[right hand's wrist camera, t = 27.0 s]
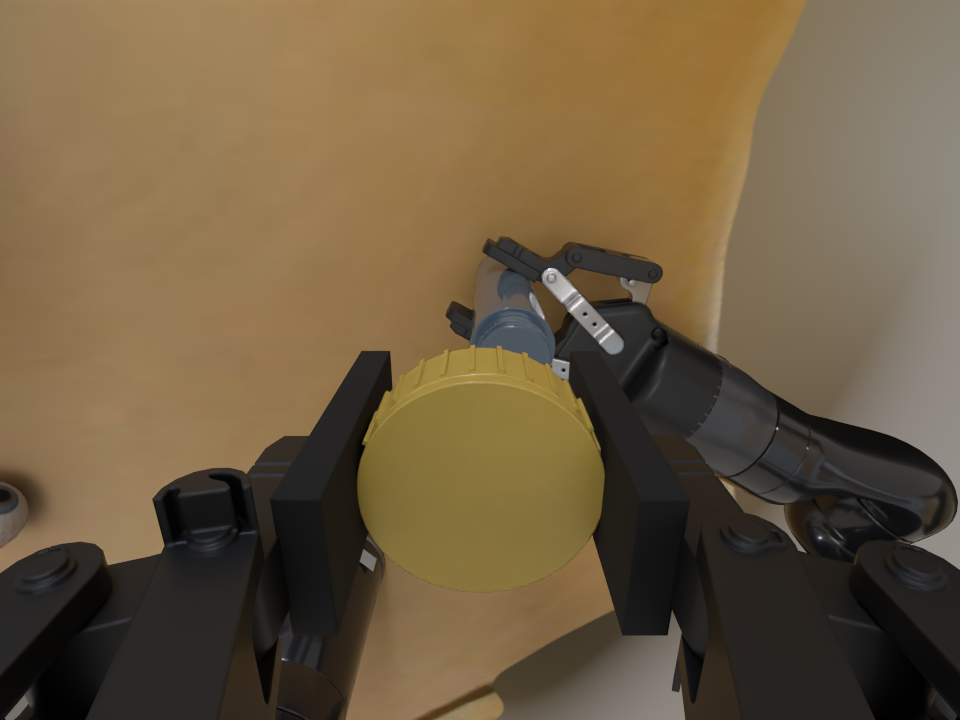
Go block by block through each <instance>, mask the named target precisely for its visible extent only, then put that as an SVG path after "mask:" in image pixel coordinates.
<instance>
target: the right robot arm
mask: <svg viewBox="0 0 960 720" xmlns="http://www.w3.org/2000/svg"><path fill="white" fill-rule="evenodd" d="M568 382H569V384H570V386H571V389H572V391H573V394H574V395H575V397H576V399H579V398H581V400H582V402H583V404H584V406H585V409H586V411H587V413H588V416H589V418H590V420H591V423H592V425H593V428H594V430H593V431H594V434H595V436H596V438H597V441H598V443H599V446H600V448H601V454H600V455H601V458H602V461H603V465H604V470H605V479H604V490H603V500H602V510H601V518H600V520H599V522H598V525H597V527H596V529H595V531H594V533H593V534H592V535H593V538H594V541H595V545H596V548H597V551H598V555H599V558H600V562H601V565H602V568H603V572H604V575H605V578H606V582H607V585H608V588H609V592H610V595H611V598H612V602H613V605H614V608H615V612H616V615H617V618H618V622H619V625H620V628H621V632H622V635H668V629H669V623H670V618H671V612H672V610H673V613H674V615H675V617H676V620H677V622H678V624H679V627H680V629H681V631H682V635H681V640H680V646H679V651H678V657H677V662H676V668H675V673H674V679H673V686H672V691H676V692H679V690H680V684H681V686H682V695H683V703H684V711H685V720H949V719H948V718H947V717H945V716H944V715H943V714H942V713H941V711H940V710H939V709H938V708H937V707H936V705H935V704H934V703H933V700H934V698H935V695H936V693H937V692H938V694H939V695H940V696H941V697H942V698H943V699H944V701H945V702H946V703H947V704H948V705H949V706H950V708H951V709H952V710H953V711H954V712H955V713H956V715H957V717H956V719H955V720H960V570H959V569H958V568H956V567H955V566H953V565H952V564H950V563H949V562H948V561H946V560H945V559H943V558H941V557H939V556H937V555H935V554H933V553H930V552H928V551H927V550H925V549H923V548H920V547H917V546H914V545H913V546H912V545H910V544H907V543H903V542H898V541H889V540H874V541H868V542H865V543H864V544H863V545H862V546H860V547H859V548H858V551H857V554H856V557H855V560H854V563H850V562H845V561H840V560H836V559H831V558H826V557H821V556H817V555H812V554H808V553H805V552H801V551H798V549H797V547H796V545H795V544H794V542H793V541H792V540H791V538H790V537H789V536H788V534H787V533H785V532H784V531H783V530H781V529H780V528H779V527H777V526H776V525H775V524H773V523H771V522H769V521H767V520H764V519H762V518H760V517H758V516H755V515H751V514H747V513H744V512H743V510H742V509H741V508H740V506H739V505H738V504H737V502H736V501H735V500H734V498H733V497H732V496H731V494H730V493H729V492H728V490H727V489H726V488H725V486H724V485H723V484H722V482H721V481H720V480H719V478H718V477H717V476H715V475H714V472H713V470H712V469H711V468H710V466H709V465H708V464H706V461H705V460H704V458H703V457H702V456H701V454H700V453H699V452H698V450H697V449H696V447H695V446H693V445H692V444H690V443H688V442H687V441H685V440H684V439H682V438H681V437H679V436H678V435H676V434H650V433H649V432H648V430H647V428H646V427H645V425H644V424H643V422H642V420H641V419H640V417H639V415H638V414H637V412H636V411H635V409H634V407H633V406H632V404H631V403H630V401H629V399H628V398H627V396H626V394H625V393H624V391H623V390H622V388H621V386H620V385H619V383H618V382H617V380H616V378H615V377H614V375H613V373H612V372H611V370H610V369H609V367H608V365H607V364H606V362H605V361H604V359H603V357H602V356H601V354H600V352H599V351H570V363H569V379H568ZM391 390H392V374H391V358H390V351H361V353H360V355H359V356H358V358H357V359H356V361H355V363H354V364H353V366H352V367H351V369H350V371H349V372H348V374H347V376H346V377H345V379H344V380H343V382H342V384H341V385H340V387H339V389H338V390H337V392H336V393H335V395H334V397H333V398H332V400H331V401H330V403H329V405H328V406H327V408H326V410H325V411H324V413H323V414H322V416H321V418H320V419H319V421H318V422H317V424H316V426H315V427H314V429H313V431H312V432H311V434H310V435H309V436H284V437H282V438H281V439H279V440H278V441H276V442H275V443H273V444H272V445H270V446H269V447H267V448H266V449H265V450H264V451H263V453H262V454H261V455H260V457H259V458H258V460H257V461H256V462H255V466H252V468H251V469H250V470H249V472H248V473H247V474H245V473H244V472H243V471H240V470H236V469H232V468H212V469H207V470H202V471H198V472H193V473H191V474H188V475H186V476H183V477H181V478H178V479H176V480H174V481H173V482H171V483H170V484H168V485H166V486H165V487H163V488H162V489H161V490H160V491H159V492H158V493H157V494H156V495H155V497H154V498H153V503H154V507H155V511H156V514H157V518H158V522H159V526H160V530H161V533H162V537H163V541H164V545H165V546H164V548H163V550H162V553H161V554H157V555H153V556H150V557H145V558H140V559H136V560H131V561H126V562H122V563H117V564H112V565H107V562H106V559H105V556H104V552H103V550H102V549H100V548H99V547H98V546H97V545H96V544H92V543H85V542H75V543H66V544H60V545H56V546H51V547H50V548H45V549H42V550H39V551H37V552H35V553H34V554H32V555H30V556H27V557H25V558H23V559H21V560H19V561H17V562H16V563H14V564H13V565H12V566H10V567H9V568H7V569H6V570H4V571H3V572H2V573H0V720H5V717H6V716H7V715H8V713H9V712H10V711H11V710H12V709H13V708H14V706H15V705H16V704H17V703H18V702H19V700H20V699H21V698H22V697H23V696H24V695H25V696H26V699H27V701H28V703H29V704H28V705H27V707H26V708H25V709H24V710H23V711H22V713H21V714H20V715H19V716H18V717H17V718H16V719H15V720H275V713H276V704H277V696H278V687H279V679H280V670H281V662H282V653H281V646H280V640H279V632H280V630H281V628H282V625H283V623H284V621H285V618H286V616H287V614H288V611H289V616H290V622H291V628H292V633H293V635H338V633H339V629H340V626H341V623H342V619H343V616H344V613H345V609H346V606H347V603H348V599H349V596H350V593H351V589H352V586H353V583H354V579H355V576H356V573H357V569H358V566H359V563H360V559H361V556H362V553H363V549H364V546H365V543H366V539H367V536H368V530H367V528H366V526H365V523H364V521H363V518H362V516H361V513H360V509H359V504H358V495H357V472H358V468H359V464H360V459H361V457H362V454H363V452H364V449H365V447H366V446H364V445H362V443H363V440H364V438H365V435H366V433H367V430H368V428H369V426H370V423H371V421H372V418H373V416H374V414H375V411H378V408H379V406H380V403H381V401H382V398H383V396H384V394H385V392H386V391H388V392H390V391H391Z"/></svg>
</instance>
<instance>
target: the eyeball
mask: <svg viewBox="0 0 960 720" xmlns="http://www.w3.org/2000/svg"><path fill="white" fill-rule="evenodd" d="M28 511H29V509H28V505H27V501H26V499H25V497H24V496H23V494H22V493H21V492H20V491H19V490H18V489H16V488H15V487H14V486H11V485H9V484H7V483H5V482H0V548H2V547H3V546H5V545H6V544H8V543H9V542H10V541H12V540H13V539H14V538H16V537H17V535H18V534H19V533H20V531H21V530H22V528H23V527H24V526H25V524H26V521H27V517H28Z"/></svg>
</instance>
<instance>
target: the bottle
mask: <svg viewBox="0 0 960 720" xmlns="http://www.w3.org/2000/svg"><path fill="white" fill-rule="evenodd" d="M470 345H475V348H494V349H496V348H497V346H502V350H507V351H511V352H515V353H518V354H521V355H522V353H523V352H525V353H527V354H528V357H529V358H531V359H533V360H535V361H537V362H539V363H541V364H542V365H545V364H546V363H547V364H549V365H550V366H551V364H552V361H553V359H554V355H555V339H554V335H553V332H552V330H551V327H550V325H549V322H548V320H547V317H546V315H545V312H544V310H543V307H542V305H541V302H540V300H539V297H538V295H537V292H536V290H535V287H534V284H533V282H532V281H531V280H529V279H527V278H526V277H524V276H522V275H520V274H519V273H517V272H515V271H513V270H512V269H510V268H508V267H507V266H505V265H503V264H501V263H500V262H498V261H496V260H495V259H493V258H491V257H489V256H488V257H487V258H485V259H484V260H483V261H482V262H481V264H480V265H479V267H478V269H477V272H476V279H475V291H474V302H473V314H472V325H471V337H470Z"/></svg>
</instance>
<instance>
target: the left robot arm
mask: <svg viewBox="0 0 960 720" xmlns="http://www.w3.org/2000/svg"><path fill="white" fill-rule="evenodd" d="M482 251H483V252H484V253H485V254H486V255H488V256H489V257H491V258H493V259H495V260H496V261H498V262H500V263H501V264H503V265H505V266H507V267H508V268H510V269H512V270H513V271H515V272H517V273H519V274H520V275H522V276H524V277H526V278H527V279H529V280H531V281H532V282H534V283H535V282H536V280H538V281H540V282H542V283H543V284H544V285H545V286H546V287H547V288H548V289H549V290H550V291H551V292H552V294H553V295H554V296H555V297H556V298H557V299H558V300H559V301H560V302H561V303H562V304H563V305H564V307H565V308H566V309H567V310H568V313H567V314H566V316H565V318H564V321H563V324H562V327H561V329H560V330H558V331H557V332H556V333H555V334H554V339H555V355H554V359H553V361H552V364H551V366H550V367H551V370H552V372H554V373H555V374H556V375H558V376H559V377H560V378H561V379H562V380H565V379H567V381H568V379H569V363H570V351H599V352H600V354H601V356H602V357H603V359H604V361H605V362H606V364H607V365H608V367H609V369H610V370H611V372H612V373H613V375H614V377H615V378H616V380H617V382H618V383H619V385H620V386H621V388H622V390H623V391H624V393H625V394H626V396H627V398H628V399H629V401H630V403H631V404H632V406H633V407H634V409H635V411H636V412H637V414H638V415H639V417H640V419H641V420H642V422H643V424H644V425H645V427H646V428H647V430H648V432H649V433H650V434H676V435H678V436H679V437H681V438H682V439H684V440H685V441H687V442H688V443H690V444H692V445H693V446H695V447H696V449H697V450H698V452H699V453H700V454H701V456H702V457H703V458H704V460H705V461H706V464H708V465H709V466H710V468H711V469H712V470H713V472H714V475H715V476H717V477H718V478H719V479H721V480H723V481H724V482H726V483H728V484H730V485H732V486H734V487H735V488H737V489H739V490H741V491H743V492H745V493H747V494H749V495H751V496H753V497H755V498H757V499H759V500H761V501H763V502H766V503H770V504H777V505H784V513H785V518H786V522H787V524H788V526H789V529H790V530H791V532H792V534H793V535H794V537H795V538H796V539H797V541H798V542H799V544H800V545H801V546H802V547H803V548H804V550H805V551H806V552H807V553H808V554H812V555H817V556H821V557H826V558H831V559H836V560H840V561H845V562H850V563H854V560H855V557H856V554H857V551H858V548H859V547H860V546H862V545H863V544H864V543H865V542H868V541H874V540H889V541H898V542H903V543H907V544H912V543H915V542H917V541H920V540H922V539H925V538H927V537H930V536H932V535H934V534H936V533H938V532H940V531H941V530H943V529H945V528H946V527H947V526H948V525H949V524H950V523H951V522H952V521H953V519H954V517H955V515H956V512H957V505H958V499H957V495H956V490H955V488H954V485H953V483H952V481H951V480H950V478H949V477H948V475H947V474H946V473H945V471H944V470H943V469H942V468H941V467H940V466H939V465H938V464H937V463H936V462H935V461H934V460H933V459H931V458H930V457H929V456H927V455H926V454H925V453H923V452H922V451H920V450H919V449H917V448H915V447H913V446H912V445H910V444H908V443H906V442H904V441H902V440H899V439H897V438H895V437H892V436H889V435H886V434H883V433H880V432H876V431H873V430H869V429H865V428H861V427H857V426H853V425H849V424H845V423H841V422H837V421H834V420H830V419H826V418H822V417H817V416H813V415H809V414H807V413H805V412H803V411H802V410H800V409H799V408H797V407H795V406H794V405H792V404H790V403H789V402H787V401H785V400H784V399H782V398H780V397H779V396H777V395H775V394H773V393H772V392H770V391H768V390H767V389H765V388H764V387H762V386H761V385H760V384H758V383H757V382H756V381H755V380H754V379H752V378H751V377H750V376H749V375H747V374H746V373H745V372H743V371H742V370H740V369H739V368H737V367H735V366H733V365H732V364H730V363H729V362H728V361H727V360H726V359H725V358H723V357H721V356H719V355H717V354H713V353H712V352H710V351H708V350H707V349H705V348H703V347H702V346H700V345H698V344H697V343H695V342H693V341H692V340H690V339H688V338H686V337H685V336H683V335H681V334H680V333H678V332H676V331H675V330H673V329H671V328H670V327H668V326H666V325H665V324H663V323H661V322H660V321H658V320H656V319H655V318H654V316H653V315H652V313H651V310H650V309H649V308H648V306H646V302H647V299H648V296H649V293H650V290H651V287H652V284H653V283H656V282H658V281H659V280H660V279H661V277H662V275H663V271H662V268H661V267H660V266H659V265H658V264H656V263H654V262H652V261H651V260H649V259H647V258H645V257H640V256H636V255H631V254H626V253H621V252H617V251H612V250H607V249H603V248H598V247H593V246H588V245H584V244H579V243H574V242H568V243H566V244H565V245H564V246H563V247H562V249H561V250H560V251H559V252H557V253H556V254H555V255H554V256H552V257H549V258H543V257H541V256H539V255H537V254H536V253H534V252H532V251H531V250H529V249H527V248H526V247H524V246H522V245H520V244H519V243H517V242H515V241H514V240H512V239H510V238H508V237H502V236H500V238H499V239H498V241H497V243H496V242H495V241H493V240H491V239H488V240H487V241H486V243H485V245H484V247H483V250H482ZM576 268H579V269H583V270H588V271H593V272H598V273H603V274H607V275H612V276H617V282H618V284H619V285H620V286H621V287H622V288H623V289H625V290H628V292H629V298H623V299H613V300H603V301H593V302H589V300H588V299H587V298H586V297H585V296H584V295H583V294H582V293H581V292H580V291H579V290H578V289H577V288H576V287H575V286H574V284H573V283H571V282H570V281H569V279H568V278H567V277H566V276H567V275H568V274H569V273H571V272H572V271H573V270H574V269H576ZM472 314H473V311H472V310H470V309H468V308H466V307H464V306H463V305H461V304H459V303H457V302H455V301H452V302H451V304H450V306H449V307H448V309H447V312H446V317H447V318H448V319H449V320H451V324H450V327H451V329H452V330H453V331H454V332H455V333H456V334H458V335H460V336H462V337H464V338H465V339H467V340H469V341H470V337H471V325H472ZM384 569H385V560H384V555H383V552H382V550H381V549H380V548H379V546H378V545H377V544H376V543H375V541H374V540H373V538H372V537H371V535H370V534H369V533H368V536H367V539H366V543H365V546H364V549H363V553H362V556H361V559H360V563H359V566H358V569H357V573H356V576H355V579H354V583H353V586H352V589H351V593H350V596H349V599H348V603H347V606H346V609H345V613H344V616H343V619H342V623H341V626H340V629H339V633H338V635H293V633H292V628H291V622H290V616H289V611H288V614H287V616H286V618H285V621H284V623H283V625H282V628H281V630H280V632H279V640H280V646H281V653H282V662H281V670H280V679H279V687H278V696H277V704H276V713H275V720H346V716H347V712H348V708H349V704H350V700H351V696H352V692H353V688H354V684H355V680H356V676H357V672H358V668H359V664H360V660H361V656H362V652H363V648H364V644H365V640H366V636H367V632H368V628H369V624H370V620H371V616H372V612H373V608H374V605H375V601H376V597H377V593H378V589H379V585H380V583H381V581H382V578H383V574H384ZM933 703H934V704H935V705H936V707H937V708H938V709H939V710H940V711H941V713H942V714H943V715H944V716H945V717H947V718H948V719H949V720H955V719H956V717H957V715H956V713H955V712H954V711H953V710H952V709H951V708H950V706H949V705H948V704H947V703H946V702H945V701H944V699H943V698H942V697H941V696H940V695H939V694H938V692H937V693H936V695H935V698H934V700H933Z"/></svg>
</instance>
